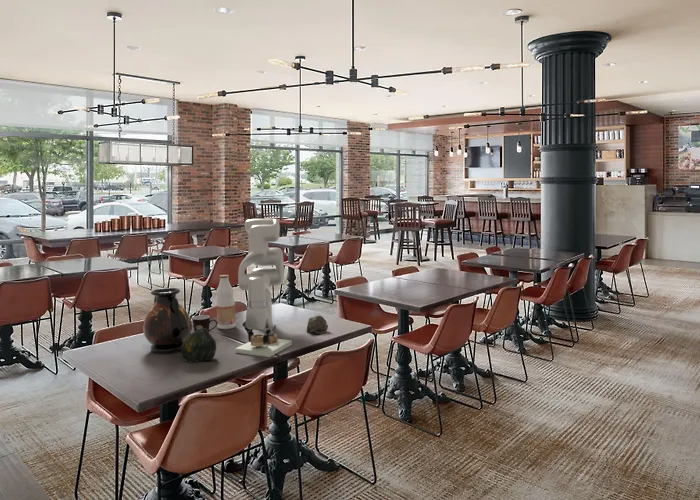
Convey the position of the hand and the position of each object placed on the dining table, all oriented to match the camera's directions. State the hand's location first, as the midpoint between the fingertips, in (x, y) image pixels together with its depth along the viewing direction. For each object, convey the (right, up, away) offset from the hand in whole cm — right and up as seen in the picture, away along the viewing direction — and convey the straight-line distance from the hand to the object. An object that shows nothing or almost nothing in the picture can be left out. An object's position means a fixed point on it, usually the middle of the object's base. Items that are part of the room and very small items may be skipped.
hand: (258, 341), depth 256 cm
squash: (-24, -7, -10) cm, 27 cm away
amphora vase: (-43, -5, +7) cm, 44 cm away
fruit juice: (-24, 0, +44) cm, 50 cm away
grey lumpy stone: (+25, 0, +31) cm, 40 cm away
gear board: (+2, -4, +5) cm, 6 cm away
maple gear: (0, -1, 0) cm, 1 cm away
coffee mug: (-31, -2, +26) cm, 41 cm away
